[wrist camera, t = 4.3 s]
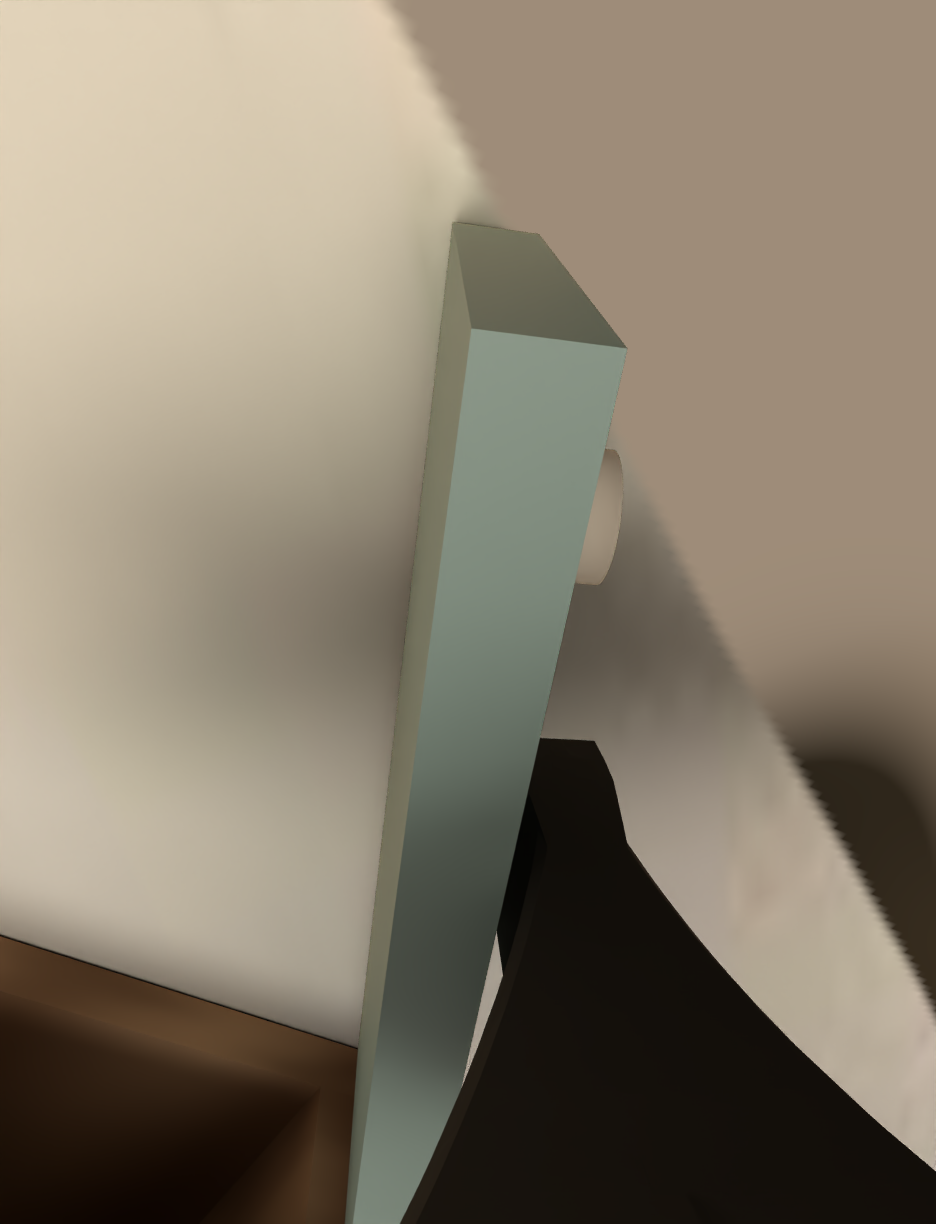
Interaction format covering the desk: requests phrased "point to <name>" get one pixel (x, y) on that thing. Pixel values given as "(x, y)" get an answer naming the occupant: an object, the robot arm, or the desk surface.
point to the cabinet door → (477, 671)
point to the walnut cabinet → (161, 1105)
